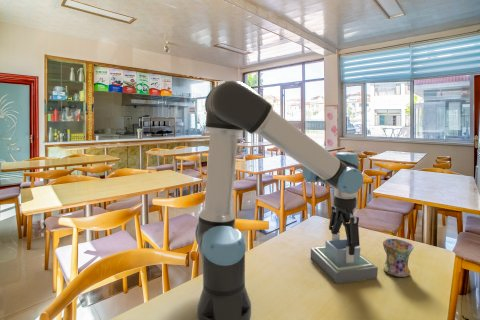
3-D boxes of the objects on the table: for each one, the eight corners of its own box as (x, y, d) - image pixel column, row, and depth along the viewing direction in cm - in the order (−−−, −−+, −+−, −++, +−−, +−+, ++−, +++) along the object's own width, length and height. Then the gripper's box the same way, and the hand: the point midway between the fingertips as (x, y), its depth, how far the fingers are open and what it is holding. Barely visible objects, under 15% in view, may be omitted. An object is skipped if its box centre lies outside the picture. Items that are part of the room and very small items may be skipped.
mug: (417, 277, 100) (420, 248, 98) (393, 280, 98) (396, 251, 96) (393, 261, 111) (395, 234, 110) (371, 263, 110) (373, 236, 108)
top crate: (337, 279, 98) (337, 269, 97) (314, 256, 113) (315, 247, 113) (371, 274, 100) (372, 264, 100) (345, 253, 116) (345, 244, 115)
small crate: (336, 270, 102) (337, 250, 101) (324, 259, 110) (325, 240, 108) (358, 267, 104) (360, 247, 103) (346, 256, 111) (347, 238, 110)
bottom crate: (335, 284, 96) (336, 272, 96) (310, 257, 114) (310, 248, 114) (377, 278, 100) (377, 267, 99) (346, 253, 117) (346, 244, 117)
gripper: (374, 204, 93) (370, 269, 97) (338, 188, 114) (335, 242, 117) (353, 205, 92) (349, 272, 95) (320, 189, 112) (318, 244, 116)
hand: (342, 256), depth 106 cm, fingers open, 9 cm apart
